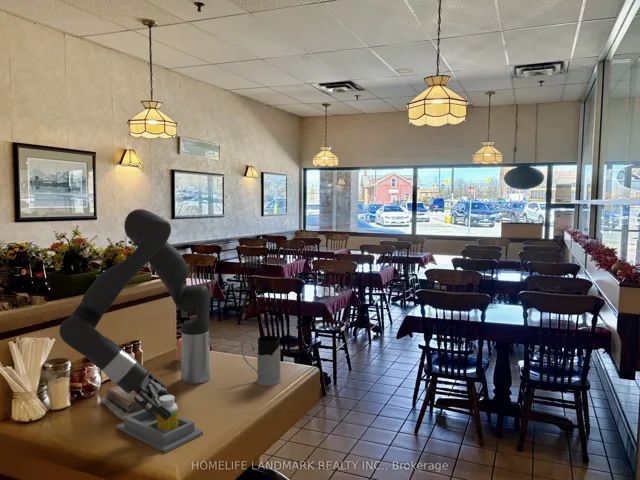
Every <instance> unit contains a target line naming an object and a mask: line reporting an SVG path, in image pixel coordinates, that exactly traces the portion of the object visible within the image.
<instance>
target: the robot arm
mask: <svg viewBox="0 0 640 480" xmlns="http://www.w3.org/2000/svg"><path fill="white" fill-rule="evenodd" d="M123 227H124V231H125V235H126V236H127V238H128V239H129V240H131V242H132V243H133V244H134V245H135V246H137V247H136V249H135V250H133V252H132V253H131V254H130V255H129V256H128V257H126V258H124V259H123V260H121V261H120V262H118V263H116V264H115V265H112V266H111V267H109V268H107V269H106V270H104V271H103V272H101V274H99V275H98V276H97V277H96V278H95V280H94V281H93V283H91V285H90V287H89V288H88V289H87V290H86V292H85V293H84V295H83V296H82V298H81V302H80V303H79V304H78V305H77V307H76V308H75V310H74V311H73V312H72V313H71V315H70V316H69V317H68V318H66V319H64V320H63V322H61V323H60V326H59V336H60V338H61V340H62V341H63V342H64V343H65V344H67V345H68V346H69V347H70V348H72V349H73V350H75V352H78V353H79V354H81V355H83V356H84V357H85V358H87V359H88V360H89V362H91V363H92V364H93V365H94V366H95V367H97V368H98V369H99V370H101V371H102V373H104V375H105V376H106V377H107V379H109V380H111V381H112V382H113V383H115V385H116V386H119V387H120V388H121V389H123V390H124V391H125V392H126V393H131V392H132V391H135V392H136V394H137V395H136V396H135V397H134V400H135V401H136V402H137V403H138V404H139V405H140V406H142V407H143V408H144V409H145V410H146V411H147V412H148V413H150V414H151V413H152V412H156V413H157V414H158V415H159V416H161V417H162V418H163V419H164V420H167V419H168V418H169V417H170V416H171V414H172V413H171V412H170V411H169V410H168V409H166V408H165V407H164V406H163V405H161V404H160V402H159V398H160V397H161V396H164V395H171V394H170V393H169V392H168V390H167V386H166V384H165V383H164V382H162V381H161V380H160V379H158V377H156V376H155V375H153V374H152V373H149V369H148V368H147V367H145V366H144V365H143V364H142V363H140V362H139V361H138V360H137V359H136V358H135V357H134V356H132V355H131V354H130V353H128V352H127V351H125V350H123V349H122V348H121V347H120V346H118V344H117V343H115V342H114V341H113V340H111V339H110V338H109V337H106V336H104V335H103V334H102V333H101V332H100V331H98V330H97V329H96V327H97V325H98V324H99V322H100V321H101V319H102V317H103V316H104V314H105V313H106V312H107V311H108V310H110V308H111V306H112V304H114V302H115V301H116V299H117V298H118V297H119V295H120V293H121V292H122V291H123V290H124V288H125V287H126V285H127V284H128V283H130V281H131V280H132V279H133V278H134V277H135V276H136V275H137V274H138V273H139V272H140V271H141V270H142V269H144V267H145V266H146V265H147V263H148V264H149V265H150V266H151V267H152V269H153V271H154V272H155V274H156V276H157V277H158V279H159V280H161V282H162V283H163V285H164V286H165V287H166V289H167V290H168V292H169V294H170V296H171V298H172V301H173V303H174V304H175V307H176V308H177V309H178V311H180V312H183V313H196V317H195V318H192V319H189V320H187V321H185V322H183V323H182V324H181V330H180V331H181V338H182V352H181V362H180V376H181V377H180V378H181V379H182V381H183V382H184V383H185V384H190V385H191V384H192V385H194V384H196V385H197V384H202V383H205V382H207V381H209V380H210V377H211V371H210V369H211V368H210V365H211V364H210V362H211V361H210V354H209V346H210V332H209V331H210V328H209V326H210V305H211V304H210V300H211V299H210V290H209V288H208V286H206V285H187V284H185V283H186V281H187V279H188V275H189V266H188V264H187V262H186V260H185V259H184V257H183V255H182V254H181V252H180V251H178V250H177V248H175V247H174V246H173V245H172V244H171V243H169V238H170V236H171V232H172V226H171V224H170V222H169V221H168V220H166V219H164V218H163V217H161V216H159V215H157V214H155V213H153V212H151V211H149V210H146V209H142V208H139V209H134V210H132V211H130V212H129V213H128V214H127V216H126V217H125V220H124V226H123ZM176 401H177V399H176V398H175V402H174V403H175V404H176V403H177V402H176ZM148 406H149V407H148Z"/></svg>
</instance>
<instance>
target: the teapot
mask: <svg viewBox="0 0 640 480" xmlns="http://www.w3.org/2000/svg"><path fill="white" fill-rule="evenodd" d="M181 352H182V337H180V338H178V340H177V343H176V348H175V359H176V361H177V362H180V363H181ZM210 353H211V346H210V345H209V355H210Z"/></svg>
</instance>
